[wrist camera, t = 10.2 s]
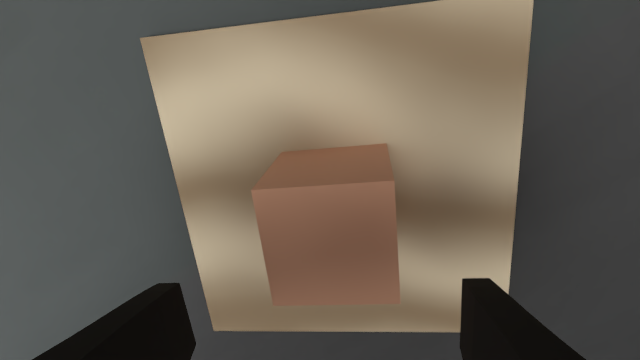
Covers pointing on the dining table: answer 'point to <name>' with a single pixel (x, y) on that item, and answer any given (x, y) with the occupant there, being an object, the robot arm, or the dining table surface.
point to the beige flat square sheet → (352, 130)
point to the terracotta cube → (329, 227)
